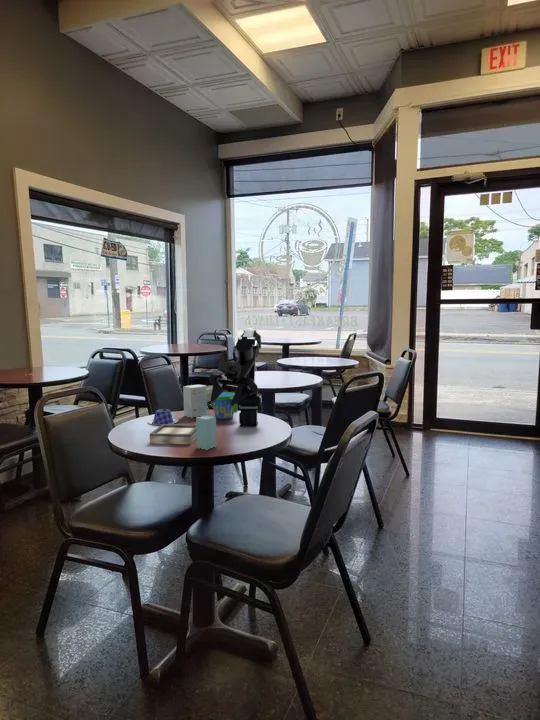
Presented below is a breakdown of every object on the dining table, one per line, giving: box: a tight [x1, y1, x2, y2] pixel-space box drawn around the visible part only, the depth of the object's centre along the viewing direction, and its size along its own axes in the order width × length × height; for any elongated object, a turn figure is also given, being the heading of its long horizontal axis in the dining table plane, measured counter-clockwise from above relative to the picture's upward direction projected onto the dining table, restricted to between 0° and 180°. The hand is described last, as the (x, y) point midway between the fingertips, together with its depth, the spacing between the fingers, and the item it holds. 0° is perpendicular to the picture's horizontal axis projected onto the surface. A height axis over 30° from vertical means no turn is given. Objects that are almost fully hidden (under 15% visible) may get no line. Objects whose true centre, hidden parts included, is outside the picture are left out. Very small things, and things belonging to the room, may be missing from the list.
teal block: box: [195, 414, 217, 451], centre depth 154 cm, size 4×4×10 cm
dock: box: [149, 423, 197, 445], centre depth 165 cm, size 14×14×3 cm
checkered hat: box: [147, 408, 179, 426], centre depth 190 cm, size 12×12×5 cm
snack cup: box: [210, 391, 239, 420], centre depth 197 cm, size 16×10×10 cm
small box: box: [182, 384, 208, 419], centre depth 201 cm, size 8×6×13 cm
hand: (221, 403), depth 159 cm, fingers open, 9 cm apart
